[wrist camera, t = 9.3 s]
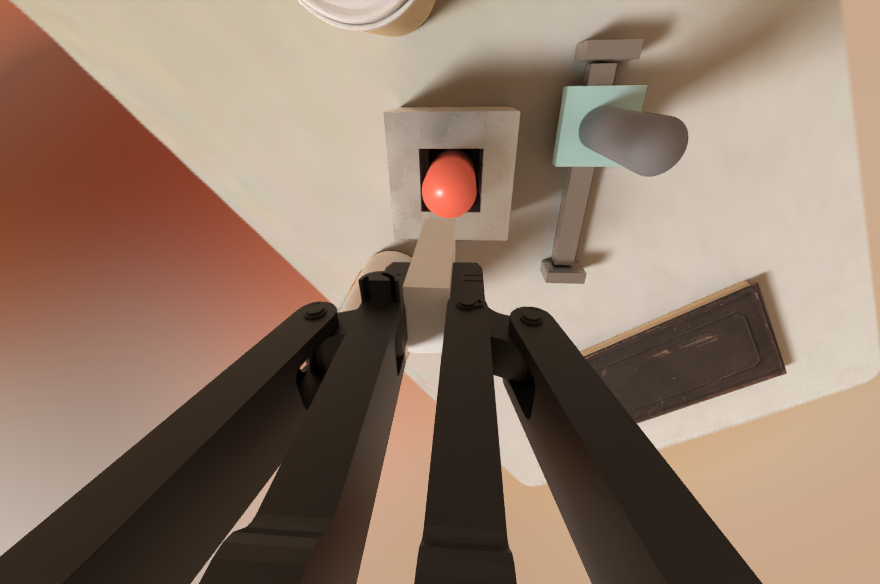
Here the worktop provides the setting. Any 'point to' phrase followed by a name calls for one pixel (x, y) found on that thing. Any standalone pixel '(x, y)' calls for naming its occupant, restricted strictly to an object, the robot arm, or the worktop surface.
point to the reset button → (450, 184)
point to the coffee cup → (372, 14)
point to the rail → (581, 177)
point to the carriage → (616, 131)
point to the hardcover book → (690, 354)
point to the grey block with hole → (452, 130)
